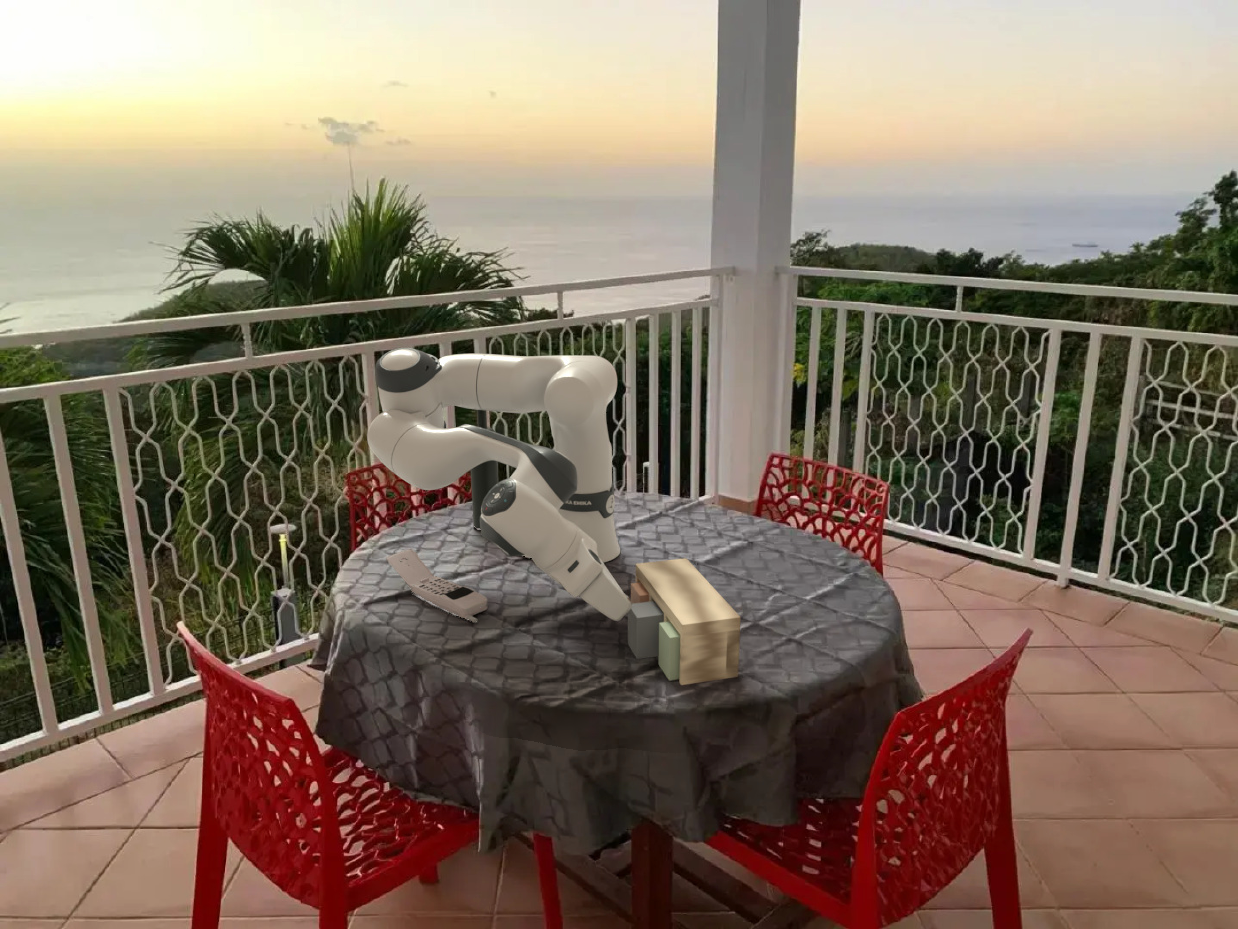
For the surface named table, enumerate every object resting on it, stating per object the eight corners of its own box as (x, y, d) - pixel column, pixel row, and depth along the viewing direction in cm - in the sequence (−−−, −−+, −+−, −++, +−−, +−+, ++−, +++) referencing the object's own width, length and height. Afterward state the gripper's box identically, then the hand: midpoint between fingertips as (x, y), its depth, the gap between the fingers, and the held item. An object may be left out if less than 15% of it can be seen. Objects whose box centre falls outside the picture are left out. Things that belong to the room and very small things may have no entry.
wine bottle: (505, 526, 197) (500, 391, 188) (485, 533, 193) (479, 395, 184) (488, 520, 201) (482, 387, 192) (468, 527, 197) (461, 391, 188)
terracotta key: (639, 635, 148) (639, 595, 146) (630, 621, 152) (630, 583, 150) (680, 629, 150) (680, 590, 148) (670, 616, 154) (670, 578, 152)
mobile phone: (410, 547, 170) (496, 583, 154) (412, 576, 172) (498, 615, 156) (382, 557, 166) (468, 595, 150) (385, 586, 168) (471, 627, 152)
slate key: (637, 659, 140) (637, 618, 138) (627, 644, 145) (627, 604, 143) (679, 653, 142) (680, 612, 140) (669, 638, 147) (670, 599, 145)
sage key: (669, 680, 134) (669, 637, 132) (658, 664, 139) (659, 622, 137) (713, 674, 136) (714, 631, 134) (701, 658, 140) (702, 617, 138)
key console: (681, 686, 133) (682, 624, 130) (635, 618, 154) (635, 563, 151) (738, 678, 135) (740, 617, 132) (685, 611, 157) (686, 558, 154)
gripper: (543, 547, 153) (599, 594, 158) (570, 597, 134) (633, 648, 139) (568, 520, 153) (624, 567, 158) (599, 566, 134) (661, 618, 139)
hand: (628, 605), depth 148 cm, fingers closed
